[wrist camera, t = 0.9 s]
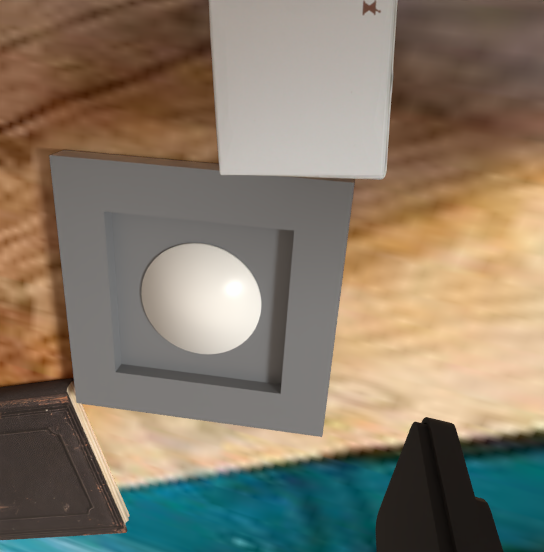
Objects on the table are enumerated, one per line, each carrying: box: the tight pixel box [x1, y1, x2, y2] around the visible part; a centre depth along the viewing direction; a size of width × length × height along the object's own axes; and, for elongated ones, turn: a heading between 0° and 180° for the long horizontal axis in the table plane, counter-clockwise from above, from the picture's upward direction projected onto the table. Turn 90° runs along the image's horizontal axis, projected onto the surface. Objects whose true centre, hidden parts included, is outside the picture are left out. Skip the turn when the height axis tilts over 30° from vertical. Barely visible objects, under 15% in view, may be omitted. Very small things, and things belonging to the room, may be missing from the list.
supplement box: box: [209, 0, 398, 180], centre depth 26 cm, size 7×7×13 cm
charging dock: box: [49, 150, 355, 437], centre depth 38 cm, size 20×20×2 cm
